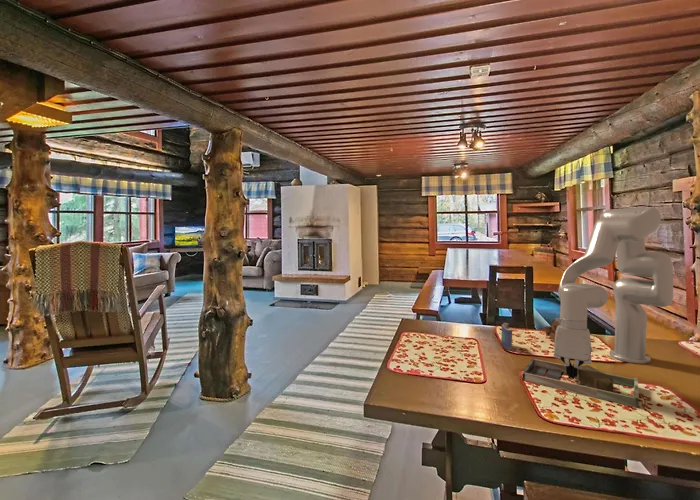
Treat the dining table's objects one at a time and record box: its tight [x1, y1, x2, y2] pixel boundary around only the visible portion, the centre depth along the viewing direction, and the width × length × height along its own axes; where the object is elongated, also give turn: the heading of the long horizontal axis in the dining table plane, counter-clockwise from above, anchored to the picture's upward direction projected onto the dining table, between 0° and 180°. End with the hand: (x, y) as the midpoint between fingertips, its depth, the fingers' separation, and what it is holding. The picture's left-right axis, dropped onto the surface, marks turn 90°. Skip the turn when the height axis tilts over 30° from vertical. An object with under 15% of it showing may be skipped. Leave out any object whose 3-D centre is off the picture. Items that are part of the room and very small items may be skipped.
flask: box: [500, 322, 513, 351], centre depth 151 cm, size 9×3×11 cm, turn 172°
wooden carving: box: [544, 319, 560, 342], centre depth 156 cm, size 16×5×10 cm, turn 10°
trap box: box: [521, 358, 640, 408], centre depth 115 cm, size 16×31×3 cm, turn 51°
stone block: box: [573, 364, 614, 393], centre depth 113 cm, size 6×12×5 cm, turn 3°
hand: (571, 377), depth 116 cm, fingers closed
